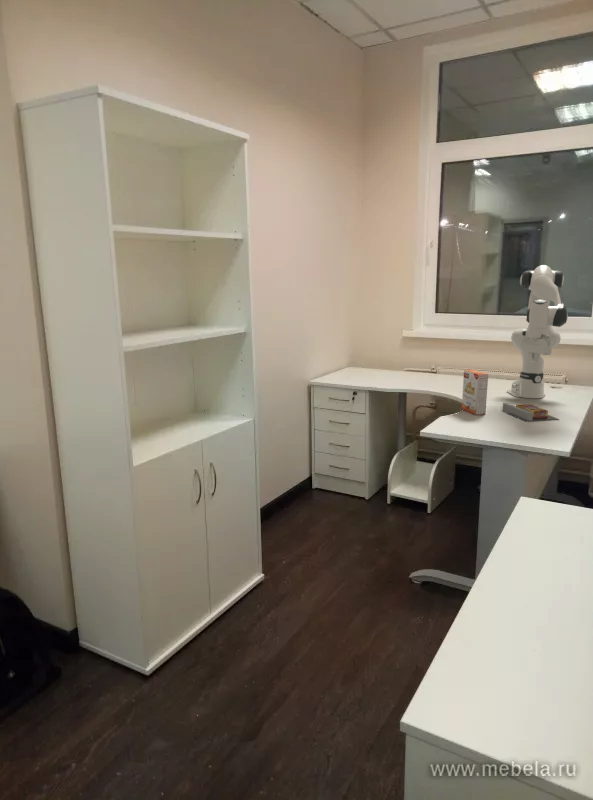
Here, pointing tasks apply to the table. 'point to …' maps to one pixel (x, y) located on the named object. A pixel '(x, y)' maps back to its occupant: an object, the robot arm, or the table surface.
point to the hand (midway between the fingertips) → (534, 361)
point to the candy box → (535, 411)
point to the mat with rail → (522, 413)
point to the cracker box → (474, 392)
